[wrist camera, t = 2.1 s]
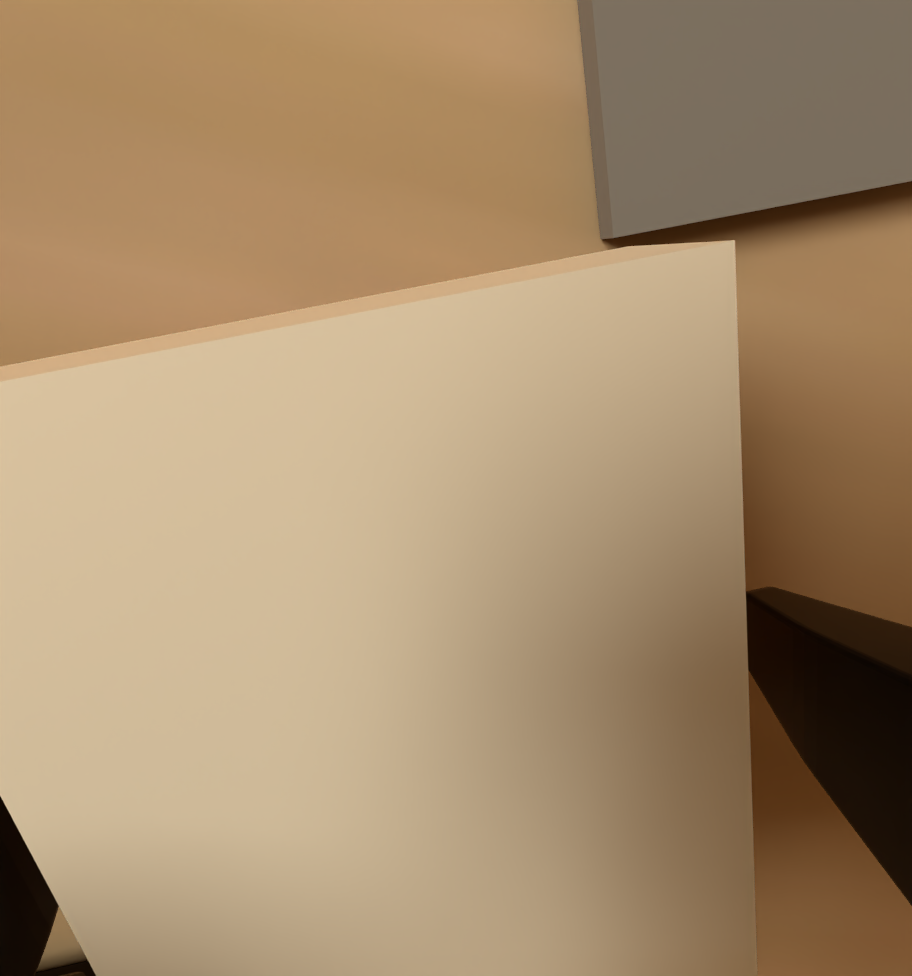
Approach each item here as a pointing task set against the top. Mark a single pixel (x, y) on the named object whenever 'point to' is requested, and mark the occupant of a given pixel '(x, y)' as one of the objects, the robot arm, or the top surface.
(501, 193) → the top surface
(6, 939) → the robot arm
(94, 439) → the footstool
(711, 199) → the mat
